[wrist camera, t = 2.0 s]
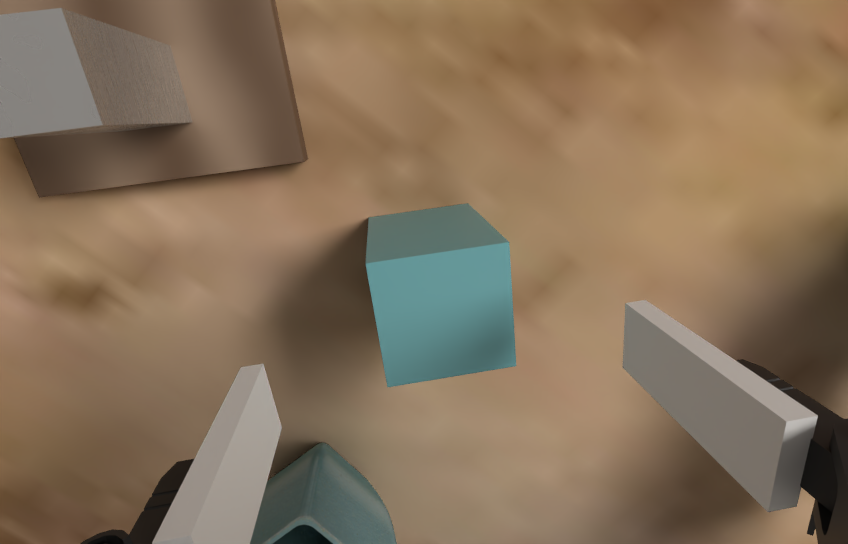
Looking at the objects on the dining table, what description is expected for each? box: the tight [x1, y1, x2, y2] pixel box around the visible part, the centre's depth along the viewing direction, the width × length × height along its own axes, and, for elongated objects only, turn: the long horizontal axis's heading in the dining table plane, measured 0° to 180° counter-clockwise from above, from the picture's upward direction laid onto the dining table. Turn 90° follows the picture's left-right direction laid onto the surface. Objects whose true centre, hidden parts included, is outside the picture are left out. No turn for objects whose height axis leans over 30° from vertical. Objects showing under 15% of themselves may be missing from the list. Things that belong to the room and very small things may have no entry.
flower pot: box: [250, 443, 397, 544], centre depth 29 cm, size 9×9×9 cm
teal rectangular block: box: [365, 203, 516, 387], centre depth 24 cm, size 6×6×9 cm
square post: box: [0, 8, 192, 138], centre depth 19 cm, size 4×4×10 cm
